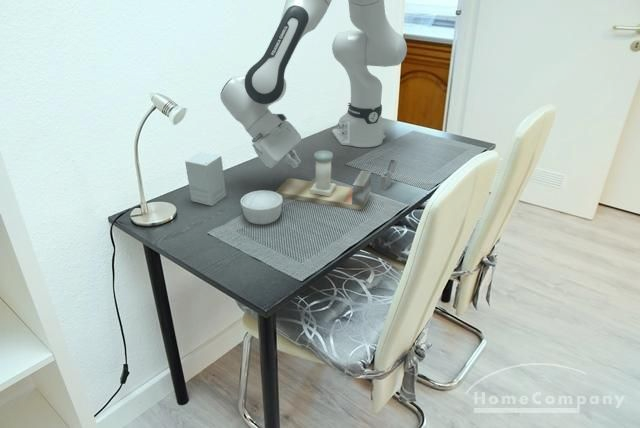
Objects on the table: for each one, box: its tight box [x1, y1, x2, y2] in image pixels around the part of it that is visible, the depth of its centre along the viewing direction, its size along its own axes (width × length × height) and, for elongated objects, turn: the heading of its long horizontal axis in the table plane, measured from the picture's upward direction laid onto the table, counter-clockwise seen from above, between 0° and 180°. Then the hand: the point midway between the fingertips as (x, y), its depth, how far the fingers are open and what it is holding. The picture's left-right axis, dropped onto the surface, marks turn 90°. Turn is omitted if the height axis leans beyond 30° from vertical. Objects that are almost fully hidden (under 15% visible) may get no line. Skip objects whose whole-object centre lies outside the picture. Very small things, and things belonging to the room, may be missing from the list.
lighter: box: [379, 158, 398, 191], centre depth 137 cm, size 7×2×8 cm, turn 146°
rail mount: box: [275, 170, 372, 211], centre depth 131 cm, size 26×10×8 cm, turn 72°
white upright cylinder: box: [310, 150, 337, 196], centre depth 129 cm, size 6×6×11 cm
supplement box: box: [184, 151, 227, 207], centre depth 128 cm, size 7×7×13 cm
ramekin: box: [239, 189, 284, 225], centre depth 121 cm, size 11×11×5 cm
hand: (298, 165), depth 130 cm, fingers closed
